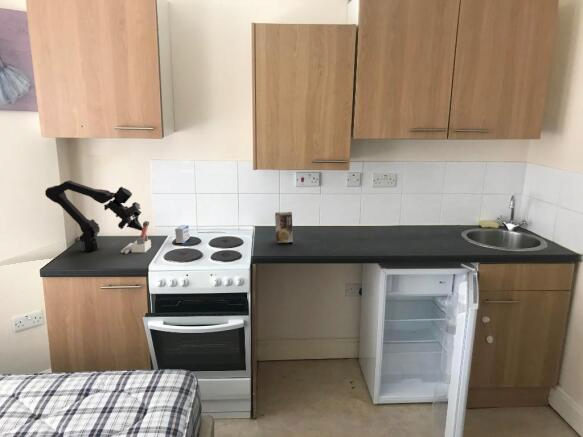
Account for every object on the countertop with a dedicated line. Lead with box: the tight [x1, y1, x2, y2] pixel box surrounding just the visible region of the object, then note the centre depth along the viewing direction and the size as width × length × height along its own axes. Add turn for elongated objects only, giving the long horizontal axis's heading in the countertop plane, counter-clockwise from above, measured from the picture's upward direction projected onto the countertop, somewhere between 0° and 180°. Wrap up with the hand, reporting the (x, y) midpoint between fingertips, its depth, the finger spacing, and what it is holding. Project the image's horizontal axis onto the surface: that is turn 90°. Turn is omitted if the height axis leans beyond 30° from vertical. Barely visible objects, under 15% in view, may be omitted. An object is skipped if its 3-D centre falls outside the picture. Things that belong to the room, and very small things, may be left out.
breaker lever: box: [139, 220, 150, 239], centre depth 232 cm, size 2×3×10 cm, turn 179°
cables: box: [120, 242, 134, 255], centre depth 234 cm, size 15×4×2 cm, turn 178°
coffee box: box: [274, 211, 294, 243], centre depth 240 cm, size 9×6×16 cm
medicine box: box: [174, 224, 190, 244], centre depth 245 cm, size 8×4×9 cm, turn 168°
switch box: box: [131, 234, 152, 253], centre depth 233 cm, size 7×9×7 cm
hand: (142, 230), depth 232 cm, fingers closed, pressing on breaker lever
